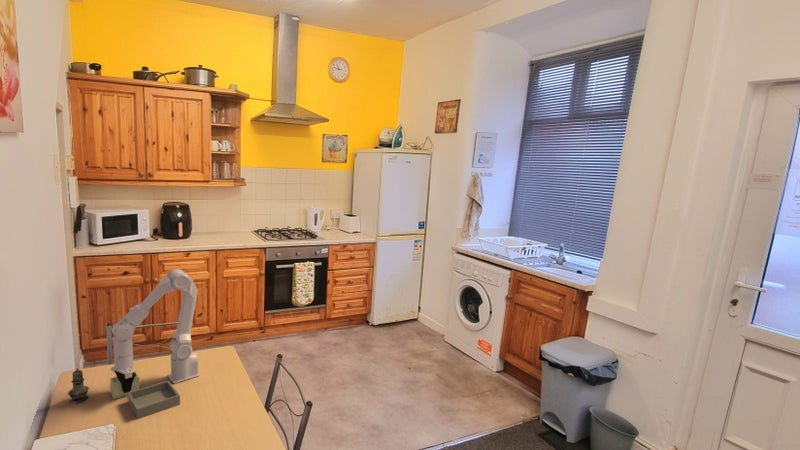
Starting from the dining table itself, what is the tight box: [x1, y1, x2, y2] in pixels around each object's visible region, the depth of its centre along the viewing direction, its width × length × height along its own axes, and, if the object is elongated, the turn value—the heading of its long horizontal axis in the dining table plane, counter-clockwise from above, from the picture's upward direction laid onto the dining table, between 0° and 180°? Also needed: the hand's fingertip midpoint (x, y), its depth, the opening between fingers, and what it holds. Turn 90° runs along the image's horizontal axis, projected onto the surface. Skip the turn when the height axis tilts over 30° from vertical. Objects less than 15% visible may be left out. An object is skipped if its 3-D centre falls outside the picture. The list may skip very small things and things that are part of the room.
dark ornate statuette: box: [67, 367, 90, 405], centre depth 144 cm, size 6×6×12 cm
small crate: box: [109, 371, 140, 400], centre depth 150 cm, size 8×5×6 cm, turn 135°
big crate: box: [127, 380, 181, 420], centre depth 144 cm, size 13×13×4 cm
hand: (125, 388), depth 150 cm, fingers open, 5 cm apart
